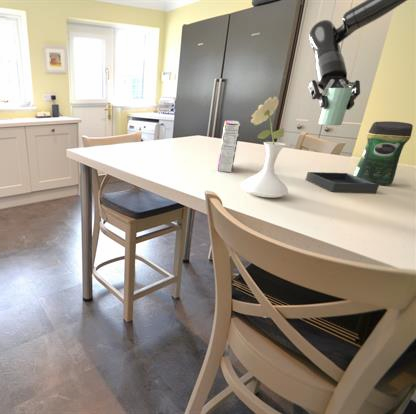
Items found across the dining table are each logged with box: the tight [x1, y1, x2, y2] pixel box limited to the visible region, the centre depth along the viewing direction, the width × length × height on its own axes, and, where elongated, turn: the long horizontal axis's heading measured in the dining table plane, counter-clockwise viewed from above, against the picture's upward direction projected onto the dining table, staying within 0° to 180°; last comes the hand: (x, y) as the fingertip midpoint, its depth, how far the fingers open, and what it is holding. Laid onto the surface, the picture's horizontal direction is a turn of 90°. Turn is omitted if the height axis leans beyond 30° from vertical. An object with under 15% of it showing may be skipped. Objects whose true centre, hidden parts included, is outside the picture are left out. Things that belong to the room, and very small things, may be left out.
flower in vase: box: [240, 95, 289, 199], centre depth 73 cm, size 13×11×25 cm
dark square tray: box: [305, 171, 380, 194], centre depth 85 cm, size 12×12×3 cm
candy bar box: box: [217, 120, 241, 173], centre depth 100 cm, size 11×5×16 cm, turn 159°
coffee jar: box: [352, 120, 414, 186], centre depth 87 cm, size 10×8×19 cm
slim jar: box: [318, 88, 353, 126], centre depth 91 cm, size 6×6×11 cm
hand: (337, 107), depth 89 cm, fingers closed on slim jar, 6 cm apart
